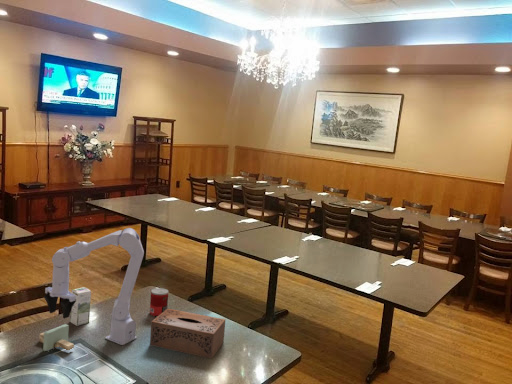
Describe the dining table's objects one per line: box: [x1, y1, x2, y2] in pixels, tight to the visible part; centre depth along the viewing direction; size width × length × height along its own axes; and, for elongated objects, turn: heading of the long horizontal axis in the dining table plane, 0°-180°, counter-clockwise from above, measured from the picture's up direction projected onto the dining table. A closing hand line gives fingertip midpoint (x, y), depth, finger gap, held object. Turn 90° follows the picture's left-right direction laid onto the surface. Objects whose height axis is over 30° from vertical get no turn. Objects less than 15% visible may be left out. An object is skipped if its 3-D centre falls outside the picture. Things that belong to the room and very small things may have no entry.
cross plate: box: [42, 323, 70, 352], centre depth 157 cm, size 9×2×7 cm, turn 152°
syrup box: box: [69, 286, 92, 327], centre depth 178 cm, size 6×6×14 cm
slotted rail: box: [38, 331, 75, 350], centre depth 157 cm, size 16×2×3 cm, turn 62°
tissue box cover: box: [149, 308, 226, 359], centre depth 169 cm, size 26×14×10 cm, turn 76°
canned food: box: [149, 287, 169, 317], centre depth 195 cm, size 8×8×11 cm
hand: (59, 314), depth 162 cm, fingers open, 7 cm apart
